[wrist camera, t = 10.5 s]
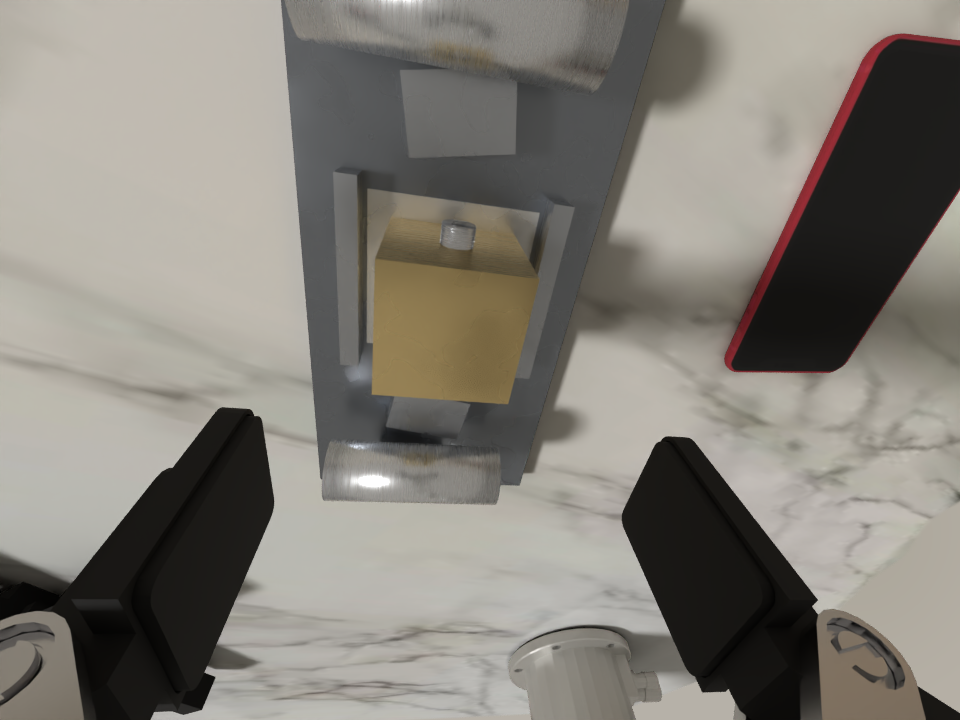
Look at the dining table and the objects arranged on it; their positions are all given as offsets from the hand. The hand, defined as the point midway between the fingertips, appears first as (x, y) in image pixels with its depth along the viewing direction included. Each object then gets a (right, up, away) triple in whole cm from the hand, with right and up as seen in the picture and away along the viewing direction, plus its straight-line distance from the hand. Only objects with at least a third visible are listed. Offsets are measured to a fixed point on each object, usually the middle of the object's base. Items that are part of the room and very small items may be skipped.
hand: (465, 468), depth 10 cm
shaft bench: (-1, +7, +9) cm, 11 cm away
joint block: (-1, +6, +8) cm, 10 cm away
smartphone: (+18, +9, +10) cm, 22 cm away
